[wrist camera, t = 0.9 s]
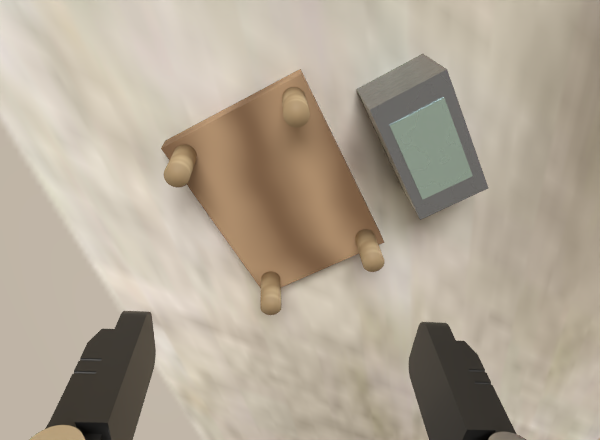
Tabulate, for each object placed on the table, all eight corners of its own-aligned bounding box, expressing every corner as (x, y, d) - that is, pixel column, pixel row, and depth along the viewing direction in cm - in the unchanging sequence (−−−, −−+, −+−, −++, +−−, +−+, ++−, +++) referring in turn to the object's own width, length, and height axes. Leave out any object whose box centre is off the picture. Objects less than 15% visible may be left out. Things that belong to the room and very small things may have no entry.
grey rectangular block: (422, 53, 31) (447, 69, 26) (461, 159, 35) (488, 188, 31) (356, 88, 32) (369, 110, 27) (402, 188, 36) (420, 220, 32)
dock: (300, 69, 31) (305, 87, 26) (380, 232, 38) (394, 268, 34) (165, 140, 33) (149, 168, 28) (265, 283, 40) (264, 323, 36)
